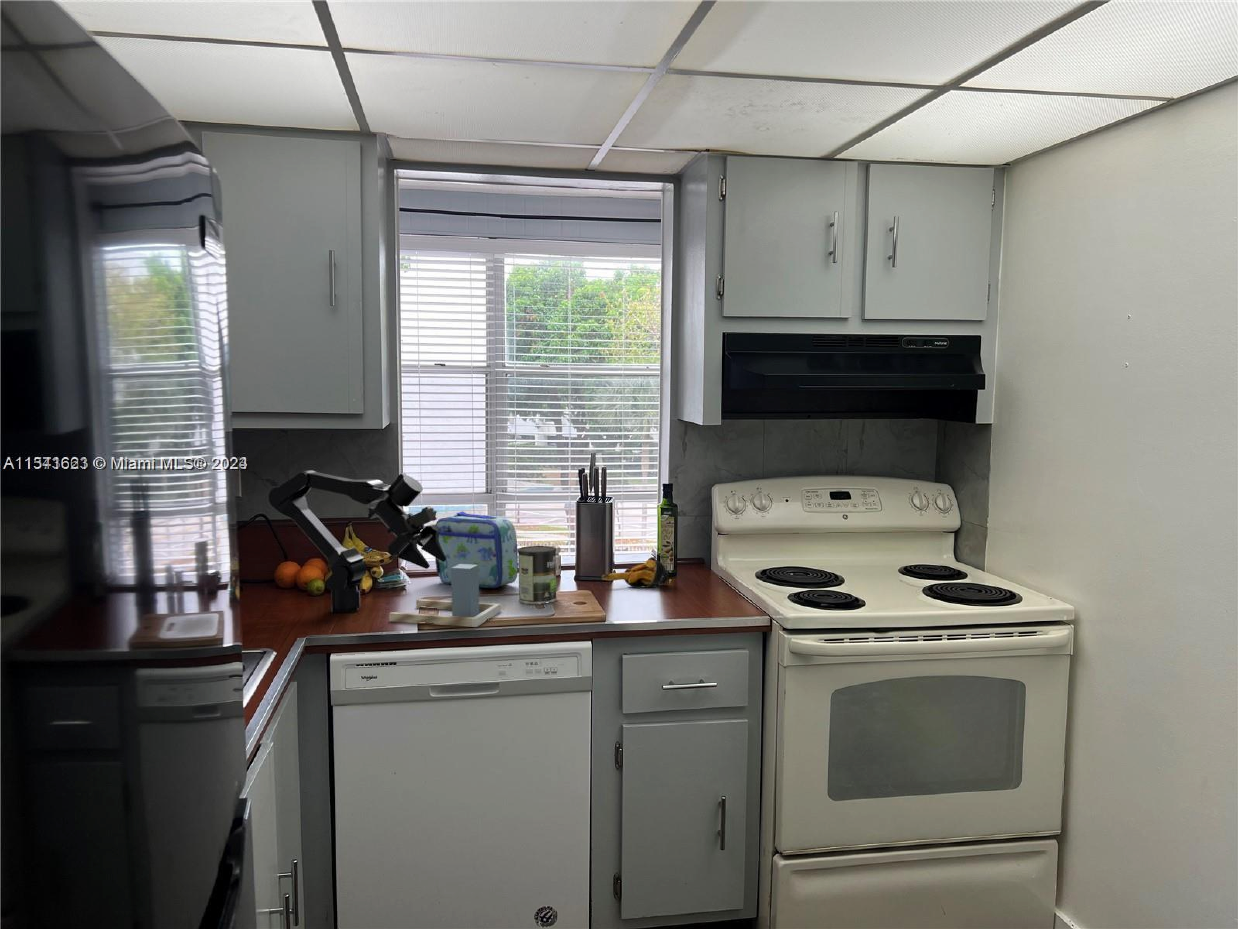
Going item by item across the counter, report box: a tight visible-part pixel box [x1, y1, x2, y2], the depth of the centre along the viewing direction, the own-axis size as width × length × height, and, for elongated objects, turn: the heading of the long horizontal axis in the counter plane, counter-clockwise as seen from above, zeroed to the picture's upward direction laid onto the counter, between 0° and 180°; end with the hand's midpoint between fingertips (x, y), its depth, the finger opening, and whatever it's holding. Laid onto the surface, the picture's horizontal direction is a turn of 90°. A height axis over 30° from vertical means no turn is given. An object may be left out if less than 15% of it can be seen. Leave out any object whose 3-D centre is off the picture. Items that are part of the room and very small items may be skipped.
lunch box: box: [434, 511, 519, 589], centre depth 255 cm, size 26×11×21 cm, turn 56°
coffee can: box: [517, 545, 557, 605], centre depth 235 cm, size 10×10×14 cm
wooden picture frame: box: [388, 598, 502, 628], centre depth 219 cm, size 23×15×2 cm, turn 75°
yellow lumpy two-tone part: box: [601, 556, 670, 589], centre depth 250 cm, size 9×11×18 cm
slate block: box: [451, 564, 480, 617], centre depth 217 cm, size 5×5×13 cm
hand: (436, 564), depth 218 cm, fingers open, 9 cm apart
